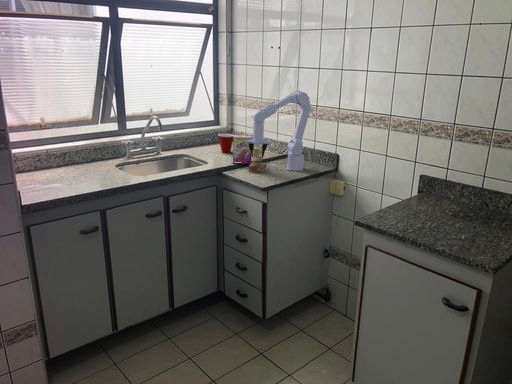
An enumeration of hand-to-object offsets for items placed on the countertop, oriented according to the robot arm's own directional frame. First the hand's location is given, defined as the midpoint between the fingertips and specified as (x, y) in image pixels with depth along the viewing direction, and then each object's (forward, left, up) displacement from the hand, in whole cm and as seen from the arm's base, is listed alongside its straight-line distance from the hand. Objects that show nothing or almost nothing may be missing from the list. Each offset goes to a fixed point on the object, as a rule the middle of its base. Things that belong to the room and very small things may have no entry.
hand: (257, 156), depth 233 cm
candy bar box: (+11, -13, -8) cm, 19 cm away
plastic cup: (+26, -36, -8) cm, 45 cm away
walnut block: (0, 0, -8) cm, 8 cm away
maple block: (0, 0, -2) cm, 2 cm away
